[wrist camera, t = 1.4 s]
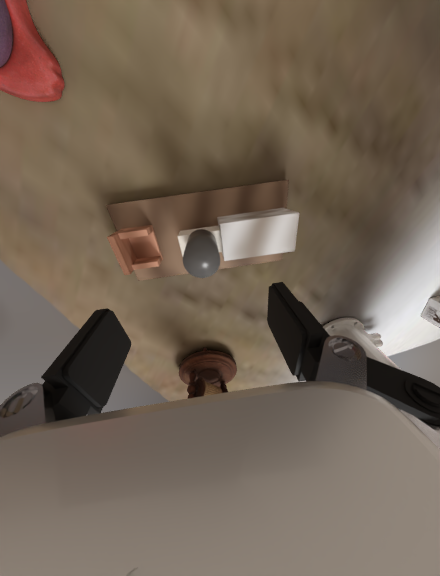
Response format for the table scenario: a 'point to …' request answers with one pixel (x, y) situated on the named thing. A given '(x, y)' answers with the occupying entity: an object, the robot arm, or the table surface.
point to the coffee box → (432, 311)
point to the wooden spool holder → (207, 372)
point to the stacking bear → (26, 57)
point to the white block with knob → (201, 250)
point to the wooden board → (198, 214)
